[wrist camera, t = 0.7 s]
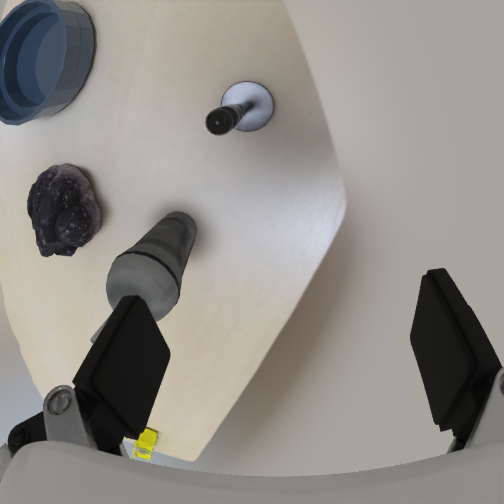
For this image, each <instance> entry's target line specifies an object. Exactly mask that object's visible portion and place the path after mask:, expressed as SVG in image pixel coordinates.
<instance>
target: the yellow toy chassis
mask: <svg viewBox="0 0 504 504" xmlns="http://www.w3.org/2000/svg"><path fill="white" fill-rule="evenodd" d="M156 436H157V434H156V433H155V432H154V431H152V430H150V429H148V428H145V431H144V432H143V433H140V436H139V439H138V440H136V441H135V445H134V447H133V459H134V458H135V459H136V457H137V456H138V457H141V458H144V459H149V458H150V456H151V454H152V451H153V449H154V447H153V446H154V443H155V442H156ZM148 461H149V460H148Z"/></svg>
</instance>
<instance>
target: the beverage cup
mask: <svg viewBox="0 0 504 504" xmlns="http://www.w3.org/2000/svg"><path fill="white" fill-rule="evenodd" d="M196 234H197V228H196V224H195V222H194V221H193V219H192V218H191V217H190V216H189V215H187V214H185V213H183V212H172V213H170V214H168V215H167V216H166V217H165V218H163V219H162V220H161V221H160V222H158V223H157V224H156V225H155V226H154V227H153V228H152V229H151V230H150V231H149V232H148V233H147V234H146V235H144V236H143V237H142V238H141V239H140V240H139V241H138V242H137V243H136V244H135V245H134V246H133V247H131V248H129V249H128V250H126V251H125V252H123V253H122V254H120V255H119V256H117V258H116V259H115V260H114V262H113V263H112V266H111V269H110V271H109V273H108V277H107V283H106V293H107V297H108V301H109V303H110V305H111V307H112V309H113V310H114V309H115V308H116V306H117V304H118V303H119V301H120V300H121V298H122V297H123V296H127V295H139V296H140V297H141V298H142V299H144V300H145V301H146V303H147V305H148V307H149V309H150V312H151V314H152V316H153V318H154V320H155V322H157V321H159V320H161V319H162V318H163V317H164V316H166V315H167V314H168V313H169V312H170V311H171V310H172V308H173V307H174V306H175V305H176V304H177V302H178V299H179V297H180V289H181V283H182V276H183V273H184V270H185V267H186V264H187V261H188V258H189V255H190V252H191V249H192V247H193V244H194V241H195V236H196ZM110 316H111V315H110ZM110 316H109V317H110ZM109 317H108V319H109ZM108 319H107V320H108ZM107 320H106V321H105V322H104V323H103V325H102V326H101V327H100V328H99V329H98V331H97V332H96V333H95V334H94V335H93V337H92V338H91V339H90V341H91V343H93V344H94V342H95V340H96V339H97V337H98V335H99V334H100V332H101V330H102V329H103V327H104V325H105V324H106V322H107Z"/></svg>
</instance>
